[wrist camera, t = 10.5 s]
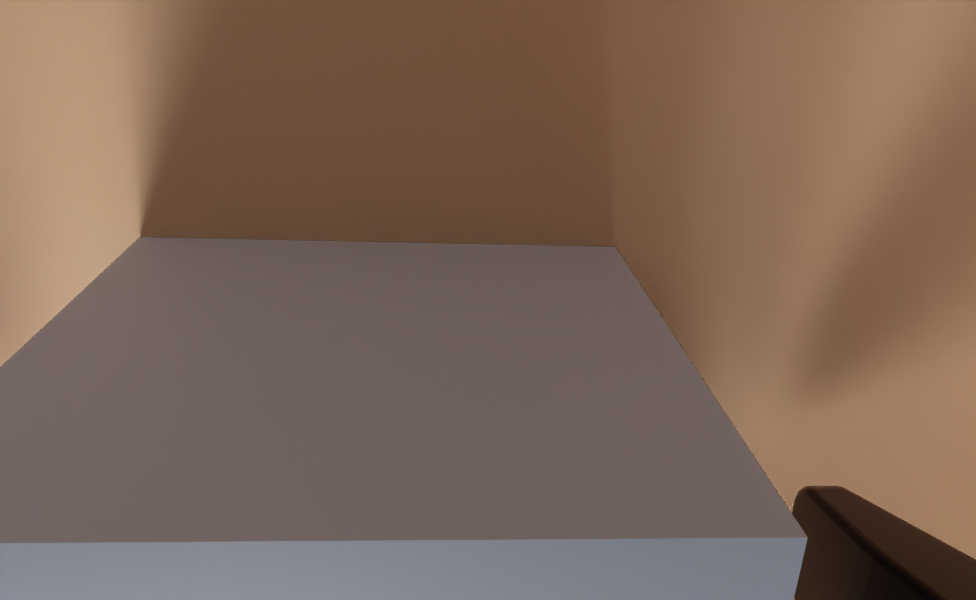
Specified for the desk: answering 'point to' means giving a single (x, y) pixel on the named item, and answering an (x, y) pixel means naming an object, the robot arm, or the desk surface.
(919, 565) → the robot arm
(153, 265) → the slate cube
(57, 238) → the desk surface
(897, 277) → the desk surface
